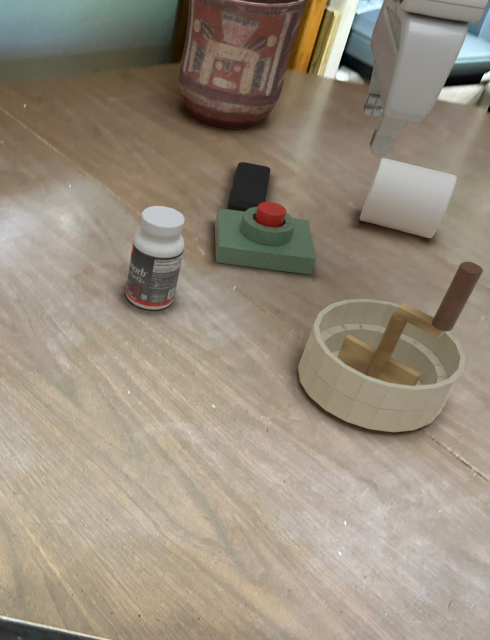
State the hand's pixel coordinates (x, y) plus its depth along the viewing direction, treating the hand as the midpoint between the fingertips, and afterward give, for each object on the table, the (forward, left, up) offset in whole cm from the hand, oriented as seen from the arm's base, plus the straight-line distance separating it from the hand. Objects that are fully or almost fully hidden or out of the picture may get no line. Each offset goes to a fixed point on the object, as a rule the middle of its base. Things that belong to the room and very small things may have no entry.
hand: (374, 132), depth 77 cm
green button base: (+5, -12, -20) cm, 24 cm away
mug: (-15, -25, -20) cm, 36 cm away
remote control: (+6, -27, -20) cm, 35 cm away
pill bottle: (+19, +3, -20) cm, 28 cm away
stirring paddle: (-5, +15, -19) cm, 24 cm away
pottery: (+9, -55, -20) cm, 60 cm away
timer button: (+5, -12, -16) cm, 21 cm away
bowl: (-5, +15, -20) cm, 25 cm away
